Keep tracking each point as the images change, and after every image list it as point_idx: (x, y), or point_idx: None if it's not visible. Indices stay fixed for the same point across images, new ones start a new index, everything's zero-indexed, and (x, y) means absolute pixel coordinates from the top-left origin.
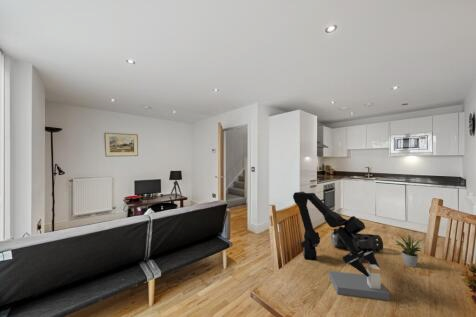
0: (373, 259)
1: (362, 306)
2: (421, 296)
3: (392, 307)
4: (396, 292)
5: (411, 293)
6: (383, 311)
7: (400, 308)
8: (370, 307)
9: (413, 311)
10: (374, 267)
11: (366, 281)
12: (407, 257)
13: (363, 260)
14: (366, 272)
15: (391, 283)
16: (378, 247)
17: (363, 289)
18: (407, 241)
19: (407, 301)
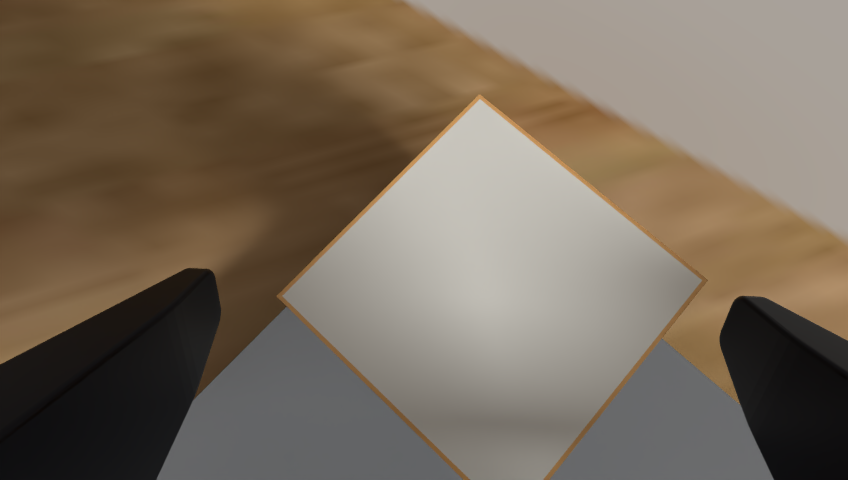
0: (9, 468)
1: (823, 314)
2: (52, 29)
3: (528, 133)
4: (194, 194)
5: (73, 98)
6: (678, 161)
7: (470, 87)
8: (751, 258)
9: (406, 13)
10: (536, 241)
11: (430, 461)
12: None
13: None
14: (846, 343)
15: (16, 296)
16: None
17: (692, 387)
18: None
19: (280, 82)
